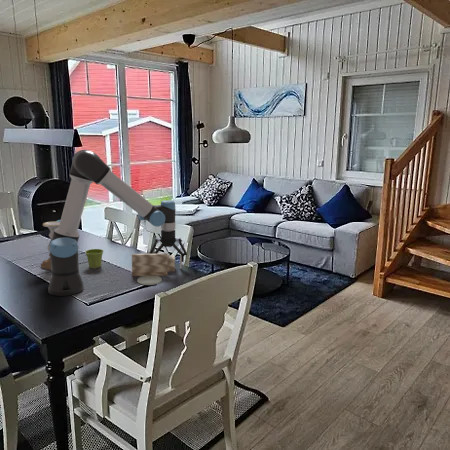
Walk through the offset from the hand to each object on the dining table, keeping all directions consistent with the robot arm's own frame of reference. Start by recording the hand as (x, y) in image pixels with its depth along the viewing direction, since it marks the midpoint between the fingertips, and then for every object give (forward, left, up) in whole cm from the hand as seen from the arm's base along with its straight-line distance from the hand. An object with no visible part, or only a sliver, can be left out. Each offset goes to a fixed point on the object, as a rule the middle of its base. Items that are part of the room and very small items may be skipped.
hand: (168, 267), depth 215 cm
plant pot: (-16, +37, -1) cm, 40 cm away
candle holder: (-26, +55, -1) cm, 60 cm away
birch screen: (-12, +4, -1) cm, 12 cm away
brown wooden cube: (0, 0, -1) cm, 1 cm away
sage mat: (-19, -1, -1) cm, 19 cm away
